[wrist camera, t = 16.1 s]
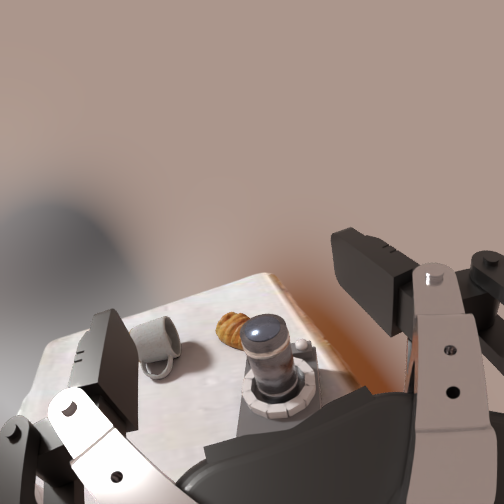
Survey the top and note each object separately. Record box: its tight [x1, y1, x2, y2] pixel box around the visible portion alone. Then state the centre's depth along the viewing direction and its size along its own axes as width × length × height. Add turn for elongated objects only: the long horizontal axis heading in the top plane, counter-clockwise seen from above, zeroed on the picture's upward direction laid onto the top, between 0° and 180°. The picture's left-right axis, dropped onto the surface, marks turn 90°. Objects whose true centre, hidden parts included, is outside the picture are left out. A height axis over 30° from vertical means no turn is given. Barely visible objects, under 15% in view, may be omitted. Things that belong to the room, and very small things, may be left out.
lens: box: [240, 314, 299, 404], centre depth 35 cm, size 5×5×11 cm
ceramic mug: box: [129, 316, 181, 379], centre depth 53 cm, size 11×8×8 cm
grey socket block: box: [236, 339, 322, 437], centre depth 38 cm, size 10×14×7 cm
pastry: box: [216, 312, 250, 351], centre depth 55 cm, size 9×7×4 cm
